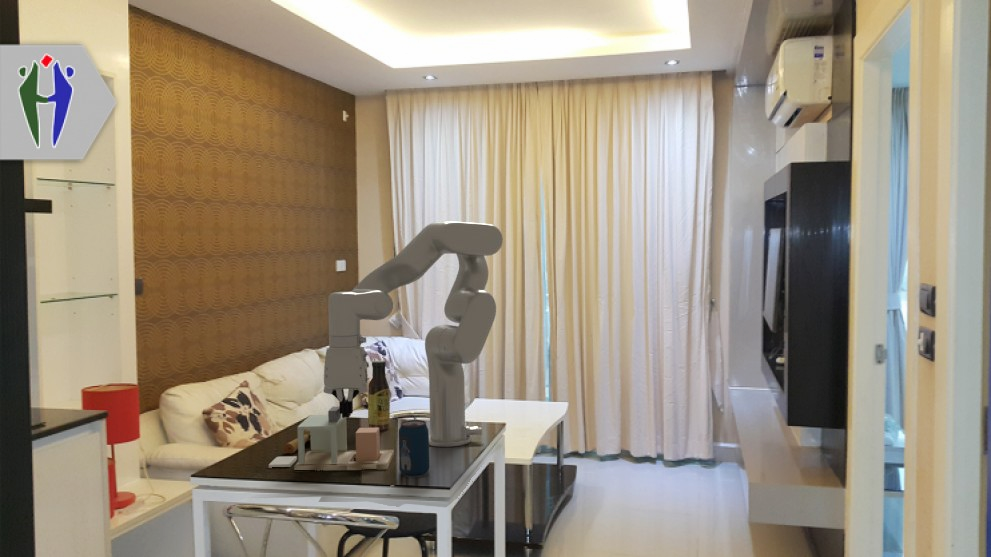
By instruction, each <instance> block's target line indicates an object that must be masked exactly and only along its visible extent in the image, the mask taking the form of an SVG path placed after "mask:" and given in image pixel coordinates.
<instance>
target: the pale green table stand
mask: <svg viewBox="0 0 991 557" xmlns="http://www.w3.org/2000/svg"><path fill="white" fill-rule="evenodd" d="M327 413H328V414H327ZM327 413H326V414H325V413H324V414H310V415H309V416H308V417H306V418H305V419H304V420H303V421H301V423H300V424H299V425H297V428H296V429H297V430H298V449H297V452H298V453H297V454H298V456H297V458H298V462H299V464H304V463H305V454H306V453H305V450H306V448H305V446H306V445H305V444H306V443H304V430H310V438H311V439H310V451H331V464H332V463H337V462H338V459H337V451H348V444H347V442H348V440H347V439H348V438H347V432H348V431H347V418H346V417H345V418H342V414H340V407H339V406H332V407H331V408H330V409H329V410H328V411H327Z"/></svg>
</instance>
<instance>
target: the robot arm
mask: <svg viewBox="0 0 991 557" xmlns="http://www.w3.org/2000/svg"><path fill="white" fill-rule="evenodd" d="M503 242H504V239H503V234H502V231H500V229H499V228H498V227H497V226H495V225H493V224H491V223H479V222H463V221H454V220H449V221H436V222H431V223H429V224H427V225H425V227H424V228H422V230H421V231H420V232H418V234H417V235H415V237H413V239H412V240H411V241H410V242H408V243H407V244H406V245H405V247H403V249H402V250H400V252H398V254H396V255H395V256H394V257H392V258H390V259H389V260H388V261H386V262H384V263H383V264H382V265H380V266H379V267H377V268H375V269H374V270H373V271H371V272H370V273H368V274H367V275H366V276H365V277H364V278H363V279H362V280H361V281H359V283H358V284H356V286H355V287H354V288H353V289H352V290H351V291H337V292H336V291H334V292H331V293H330V294H329V295H328V300H327V301H328V302H327V303H328V304H327V305H328V307H327V308H328V343H329V344H328V347H327V348H326V351H325V355H324V356H325V357H324V358H325V359H324V366H323V367H324V368H323V385H324V387H323V393H325V394H329V395H332V396H333V397H334V398H335V399H336V400H337V401H338V403H339V406H338V407H340V414H342V418H345V417H346V419H349V418H350V417H351V416H352V414H353V412H354V401H353V400H354V399H355V398H356V397H357V396H358V395H361V394H364V393H365V394H366V393H367V392H369V386H368V381H369V380H368V364H367V358H366V357H367V356H366V350H365V347H364V346H361V345H363V344H364V343H365V344H366V343H367V337H365V336H362V334H361V320H368V321H369V320H370V321H381V320H384V319H386V318H387V317H389V316H390V315H391V313H392V311H393V309H394V301H393V298H392V297H391V296H390V294H389V293H392V292H393V291H394V290H397V289H398V288H400V287H403V286H407V285H410V284H413V283H415V282H417V281H418V280H420V279H421V278H422V277H423V276H424V275H425V274H426V273H427V272H428V270H430V268H431V267H433V265H434V264H435V263H436V262H438V260H439V259H440V258H441V257H443V255H446V254H449V255H450V254H455V255H456V256H457V260H458V272H457V274H456V277H455V280H454V282H453V285H452V287H451V290H450V291H449V294H448V296H447V299H446V300H445V304H444V310H443V312H444V315H445V317H446V318H447V319H448V320H449V321H451V322H453V323H456V324H458V325H450V324H439V325H436V326H434V327H432V328H431V329H430V330H429V331H428V332H427V334H426V335H425V336H426V337H425V338H424V339H425V340H424V350H425V355H426V356H425V357H426V360H427V365H428V382H429V384H428V386H429V387H428V388H429V390H428V391H429V393H428V394H429V396H428V397H429V446H433V447H438V448H439V447H441V448H442V447H443V448H444V447H446V448H447V447H449V448H450V447H459V446H463V445H466V444H469V443H470V442H471V441H472V436H473V435H474V436H482V434H483V428H482V427H478V426H468V424H467V423H468V422H467V421H466V407H465V406H466V404H465V403H466V402H465V401H466V400H465V394H466V393H465V392H466V391H465V373H464V372H465V371H464V368H463V365H464V364H465V365H467V364H470V363H473V362H475V361H476V360H477V359H478V358H479V356H480V355H481V353H482V352H483V349H484V347H485V344H486V341H487V339H488V337H489V334H490V332H491V329H492V327H493V324H494V322H495V319H496V315H497V302H496V301H495V298H494V296H493V295H492V294H490V293H489V292H488V291H487V290H485V289H486V286H487V283H488V279H489V267H488V263H487V260H486V258H485V257H486V256H487V257H488V256H492V255H496V253H498V252H499V251H500V249H501V248H502V245H503ZM344 390H348V391H347V398H346V396H345V391H344Z"/></svg>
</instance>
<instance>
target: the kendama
mask: <svg viewBox="0 0 991 557" xmlns="http://www.w3.org/2000/svg"><path fill="white" fill-rule="evenodd" d="M308 440H311V438H310V430H304V444H306V442H308ZM283 450H284V452H285V453H286V454H287V453H293V454H294V453H295V452H297V451H298V429H297V430H296V438H295V439H293V440H292V441H289V442H288V443H285V444H284V447H283Z"/></svg>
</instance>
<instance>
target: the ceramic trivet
mask: <svg viewBox="0 0 991 557" xmlns="http://www.w3.org/2000/svg"><path fill="white" fill-rule="evenodd" d="M297 460H298V456H295V455H294V456H293V455H292V456H290V455H289V456H287V455H286V456H276V457H275V458H274V459H273V460H272V461H271V462H270V463H269V464H268V469H273V468H272V467H292V466H293V464H295V462H296V461H297Z"/></svg>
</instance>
